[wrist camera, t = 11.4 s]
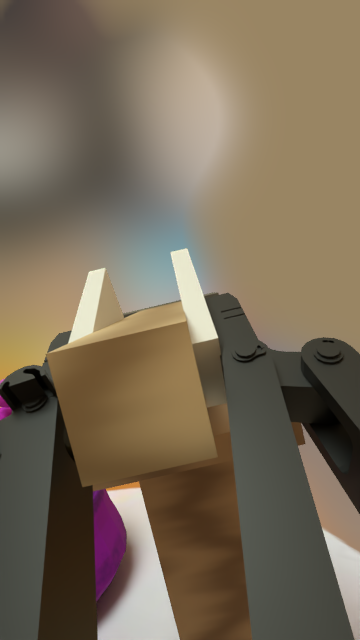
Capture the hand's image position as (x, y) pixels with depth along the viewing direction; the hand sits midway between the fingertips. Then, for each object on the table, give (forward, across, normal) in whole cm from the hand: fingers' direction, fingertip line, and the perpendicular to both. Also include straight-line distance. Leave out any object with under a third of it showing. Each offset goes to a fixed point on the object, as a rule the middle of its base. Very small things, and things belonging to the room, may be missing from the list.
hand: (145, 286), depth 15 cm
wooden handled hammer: (-1, 0, -4) cm, 4 cm away
